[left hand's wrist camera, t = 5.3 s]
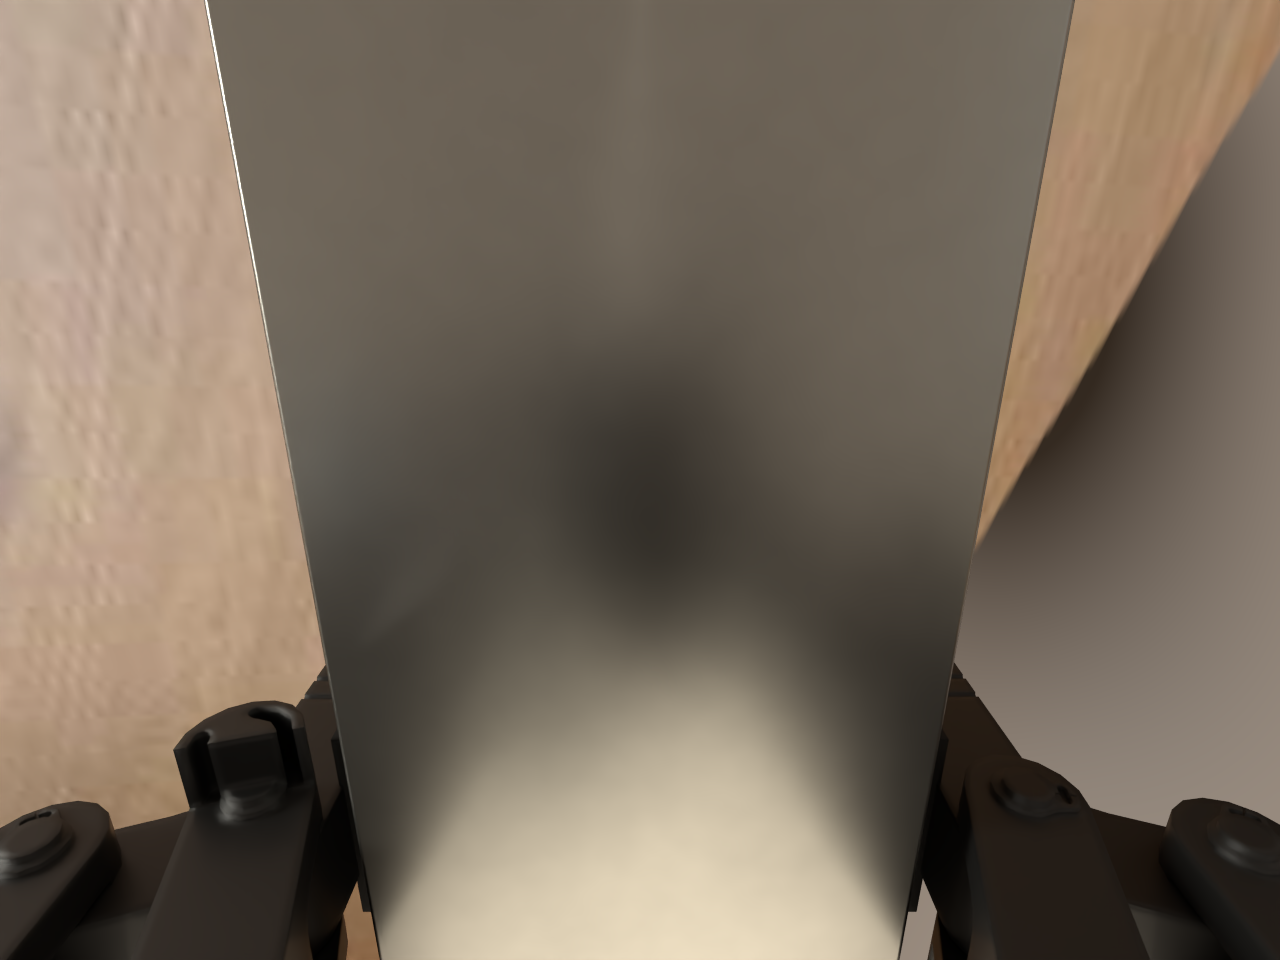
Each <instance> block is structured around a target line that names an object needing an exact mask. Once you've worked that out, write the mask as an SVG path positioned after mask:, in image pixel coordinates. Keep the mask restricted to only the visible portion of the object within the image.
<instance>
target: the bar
mask: <svg viewBox="0 0 1280 960" xmlns="http://www.w3.org/2000/svg"><path fill="white" fill-rule="evenodd" d="M204 3H205V8H206V14H207V19H208V25H209V30H210V36H211V41H212V47H213V52H214V57H215V63H216V68H217V74H218V79H219V85H220V90H221V96H222V101H223V107H224V112H225V118H226V123H227V128H228V134H229V139H230V145H231V150H232V156H233V161H234V167H235V172H236V178H237V183H238V188H239V194H240V199H241V205H242V210H243V216H244V221H245V227H246V232H247V238H248V243H249V249H250V254H251V259H252V265H253V270H254V276H255V281H256V287H257V292H258V298H259V303H260V309H261V314H262V319H263V325H264V330H265V336H266V341H267V347H268V352H269V358H270V363H271V369H272V374H273V380H274V385H275V390H276V396H277V401H278V407H279V412H280V418H281V423H282V429H283V434H284V440H285V445H286V450H287V456H288V461H289V467H290V472H291V478H292V483H293V489H294V494H295V500H296V505H297V511H298V516H299V521H300V527H301V532H302V538H303V543H304V549H305V554H306V560H307V565H308V571H309V576H310V581H311V587H312V592H313V598H314V603H315V609H316V614H317V620H318V625H319V631H320V636H321V642H322V647H323V652H324V658H325V663H326V669H327V674H328V680H329V685H330V691H331V696H332V702H333V707H334V712H335V718H336V723H337V729H338V734H339V740H340V745H341V751H342V756H343V762H344V767H345V773H346V778H347V783H348V789H349V794H350V800H351V805H352V811H353V816H354V822H355V827H356V833H357V838H358V843H359V849H360V854H361V860H362V865H363V871H364V876H365V882H366V887H367V893H368V898H369V904H370V909H371V914H372V920H373V925H374V931H375V936H376V942H377V947H378V953H379V958H380V960H899V959H900V953H901V948H902V943H903V937H904V932H905V926H906V921H907V915H908V910H909V904H910V899H911V893H912V888H913V883H914V877H915V872H916V866H917V861H918V855H919V850H920V844H921V839H922V833H923V828H924V822H925V817H926V811H927V806H928V801H929V795H930V790H931V784H932V779H933V773H934V768H935V762H936V757H937V751H938V746H939V740H940V735H941V729H942V724H943V719H944V713H945V708H946V702H947V697H948V691H949V686H950V680H951V675H952V669H953V664H954V658H955V653H956V647H957V642H958V637H959V631H960V625H961V620H962V615H963V609H964V603H965V598H966V593H967V587H968V582H969V576H970V571H971V566H972V560H973V554H974V549H975V544H976V538H977V533H978V527H979V522H980V516H981V511H982V505H983V500H984V494H985V489H986V484H987V478H988V473H989V467H990V462H991V456H992V451H993V445H994V440H995V434H996V429H997V423H998V418H999V412H1000V407H1001V402H1002V396H1003V391H1004V385H1005V380H1006V374H1007V369H1008V363H1009V358H1010V352H1011V347H1012V341H1013V336H1014V331H1015V325H1016V320H1017V314H1018V309H1019V303H1020V298H1021V292H1022V287H1023V281H1024V276H1025V270H1026V265H1027V259H1028V254H1029V249H1030V243H1031V238H1032V232H1033V227H1034V221H1035V216H1036V210H1037V205H1038V199H1039V194H1040V188H1041V183H1042V177H1043V172H1044V167H1045V161H1046V156H1047V150H1048V145H1049V139H1050V134H1051V128H1052V123H1053V117H1054V112H1055V106H1056V101H1057V95H1058V90H1059V85H1060V79H1061V74H1062V68H1063V63H1064V57H1065V52H1066V46H1067V41H1068V35H1069V30H1070V24H1071V19H1072V13H1073V8H1074V3H1075V0H204Z"/></svg>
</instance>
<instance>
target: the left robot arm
mask: <svg viewBox="0 0 1280 960" xmlns="http://www.w3.org/2000/svg"><path fill="white" fill-rule="evenodd" d="M173 751H174V754H175V758H176V761H177V765H178V768H179V772H180V775H181V779H182V782H183V786H184V789H185V793H186V796H187V800H188V803H189V807H190V809H189V811H187V812H184V813H181V814H178V815H174V816H171V817H167V818H162V819H158V820H154V821H150V822H146V823H141V824H137V825H133V826H129V827H124V828H120V829H116V830H114V827H113V825H112V822H111V819H110V816H109V813H108V812H107V811H106V810H105V809H103V808H102V807H101V806H100V805H99V804H97V803H90V802H83V801H74V802H68V803H62V804H55V805H51V806H48V807H45V808H43V809H40V810H37V811H34V812H32V813H29V814H26V815H23V816H21V817H20V818H18V819H16V820H14V821H12V822H11V823H9V824H7V825H5V826H3V827H2V828H0V960H346V955H347V945H348V939H347V932H346V925H345V920H344V915H343V912H344V910H345V908H346V905H347V903H348V901H349V898H350V896H351V894H352V891H353V889H354V887H355V884H356V882H358V888H359V893H360V898H361V903H362V909H363V912H371V909H370V904H369V898H368V893H367V887H366V882H365V876H364V871H363V865H362V860H361V854H360V849H359V843H358V838H357V833H356V827H355V822H354V816H353V811H352V805H351V800H350V794H349V789H348V783H347V778H346V773H345V767H344V762H343V756H342V751H341V745H340V740H339V734H338V729H337V723H336V718H335V712H334V707H333V702H332V696H331V691H330V685H329V680H328V674H327V669H326V665H325V667H324V668H323V669H322V671H321V672H320V674H319V675H318V677H317V681H314V682H313V684H312V685H311V686H310V688H309V689H308V691H307V692H306V694H305V698H304V699H301V701H300V702H299V703H298V705H297V706H296V707H294V706H293V705H292V704H287V703H283V702H279V701H258V702H250V703H246V704H242V705H239V706H235V707H231V708H228V709H226V710H224V711H221V712H219V713H217V714H215V715H213V716H211V717H209V718H207V719H205V720H203V721H202V722H201V723H199V724H198V725H196V726H195V727H194V728H192V729H191V730H190V731H188V732H187V733H186V734H185V735H184V736H183V738H182V739H181V740H180V742H179V743H178V744H177V745H176V747H175V748H174V749H173ZM922 880H924V882H925V884H926V886H927V889H928V891H929V894H930V896H931V898H932V901H933V903H934V905H935V908H936V910H937V915H936V920H935V925H934V930H933V935H932V940H931V945H930V950H929V955H928V960H1280V825H1279V824H1278V823H1276V822H1274V821H1272V820H1270V819H1269V818H1267V817H1265V816H1263V815H1261V814H1259V813H1258V812H1255V811H1252V810H1249V809H1247V808H1244V807H1241V806H1238V805H1236V804H1233V803H1230V802H1226V801H1220V800H1213V799H1207V798H1197V799H1190V800H1183V801H1182V802H1180V803H1179V804H1178V805H1177V806H1176V807H1174V808H1173V809H1172V811H1171V814H1170V817H1169V820H1168V823H1167V826H1166V827H1164V826H1160V825H1156V824H1151V823H1147V822H1143V821H1138V820H1134V819H1130V818H1126V817H1122V816H1117V815H1113V814H1109V813H1106V812H1102V811H1099V810H1096V809H1092V808H1090V806H1089V805H1088V803H1087V802H1086V800H1085V799H1084V797H1083V796H1082V794H1081V793H1080V791H1079V790H1078V789H1077V788H1076V787H1074V786H1073V785H1072V784H1071V783H1070V782H1068V781H1067V780H1066V779H1065V778H1064V777H1063V776H1061V775H1060V774H1058V773H1056V772H1054V771H1052V770H1051V769H1049V768H1047V767H1045V766H1043V765H1041V764H1039V763H1037V762H1033V761H1030V760H1027V759H1023V758H1021V756H1020V755H1019V753H1018V752H1017V750H1016V749H1015V748H1014V746H1013V745H1012V743H1011V742H1010V741H1009V739H1008V738H1007V736H1006V735H1005V734H1004V732H1003V731H1002V729H1001V728H1000V726H999V725H998V724H997V722H996V721H995V719H994V718H993V717H992V715H991V714H990V712H989V711H988V710H987V708H986V707H985V705H984V704H983V702H982V701H981V700H980V698H979V697H976V696H975V691H974V690H973V688H972V687H971V686H970V684H969V683H968V681H967V680H966V679H963V674H962V673H961V672H960V670H959V669H958V667H957V666H956V664H955V663H954V664H953V669H952V675H951V680H950V686H949V691H948V697H947V702H946V708H945V713H944V719H943V724H942V729H941V735H940V740H939V746H938V751H937V757H936V762H935V768H934V773H933V779H932V784H931V790H930V795H929V801H928V806H927V811H926V817H925V822H924V828H923V833H922V839H921V844H920V850H919V855H918V861H917V866H916V872H915V877H914V883H913V888H912V893H911V899H910V904H909V910H908V912H916V911H917V906H918V901H919V896H920V890H921V885H922Z"/></svg>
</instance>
